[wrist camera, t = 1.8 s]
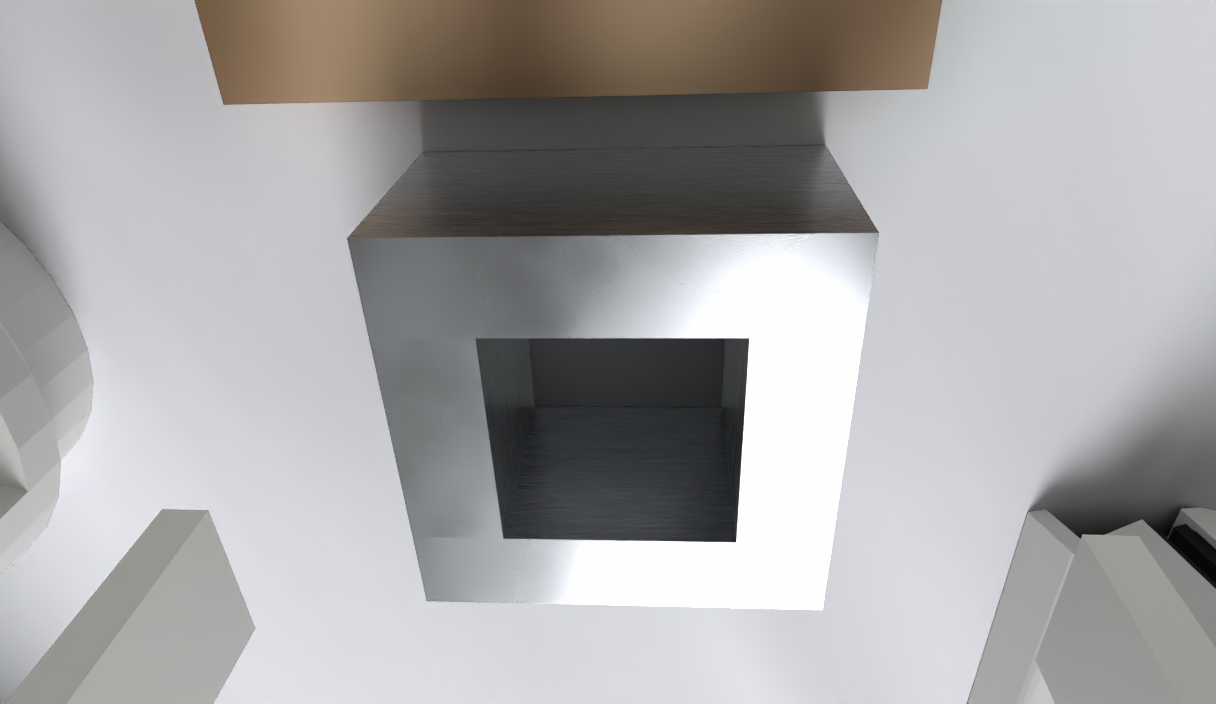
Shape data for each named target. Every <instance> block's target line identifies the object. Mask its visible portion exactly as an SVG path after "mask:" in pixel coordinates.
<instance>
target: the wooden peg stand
mask: <svg viewBox="0 0 1216 704" xmlns="http://www.w3.org/2000/svg"><path fill="white" fill-rule="evenodd" d="M195 4H196V7H197V11H198V15H199V18H200V22H201V25H202V29H203V32H204V36H205V40H206V43H207V47H208V50H209V54H210V58H211V61H212V65H213V68H214V72H215V75H216V79H217V83H218V86H219V90H220V93H221V97H222V100H223V104H224V105H231V104H276V103H321V102H366V101H411V100H456V99H501V98H546V97H591V96H635V95H680V94H725V93H770V92H815V91H860V90H905V89H927V88H928V82H929V76H930V70H931V64H932V58H933V52H934V46H935V40H936V34H937V28H938V22H939V16H940V10H941V4H942V0H195Z"/></svg>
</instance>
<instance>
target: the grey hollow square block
mask: <svg viewBox="0 0 1216 704" xmlns="http://www.w3.org/2000/svg"><path fill="white" fill-rule="evenodd" d="M878 236H879V232H878V231H877V229H876V227H875V226H874V224H873V222H872V221H871V219H870V217H869V216H868V214H867V212H866V211H865V209H864V208H863V206H862V204H861V203H860V201H859V199H858V198H857V196H856V194H855V193H854V191H853V189H852V188H851V186H850V184H849V183H848V181H847V180H846V178H845V176H844V175H843V173H842V171H841V170H840V168H839V166H838V165H837V163H836V161H835V160H834V158H833V156H832V155H831V153H830V152H829V150H828V148H827V147H826V145H812V146H755V147H698V148H641V149H584V150H527V151H470V152H423V153H422V154H421V155H420V156H419V157H418V158H417V159H416V160H415V162H414V163H413V164H412V165H411V166H410V167H409V168H408V170H407V171H406V172H405V173H404V174H403V175H402V176H401V178H400V179H399V180H398V181H397V182H396V183H395V184H394V186H393V187H392V188H391V189H390V190H389V191H388V192H387V193H386V195H385V196H384V197H383V198H382V199H381V200H380V201H379V203H378V204H377V205H376V206H375V207H374V208H373V209H372V211H371V212H370V213H369V214H368V215H367V216H366V217H365V218H364V220H363V221H362V222H361V223H360V224H359V225H358V226H357V228H356V229H355V230H354V231H353V232H352V233H351V234H350V236H349V237H348V238H347V240H348V244H349V249H350V253H351V258H352V262H353V267H354V272H355V276H356V281H357V285H358V290H359V294H360V299H361V303H362V308H363V313H364V317H365V322H366V326H367V331H368V335H369V340H370V344H371V349H372V354H373V358H374V363H375V367H376V372H377V376H378V381H379V385H380V390H381V395H382V399H383V404H384V408H385V413H386V417H387V422H388V426H389V431H390V436H391V440H392V445H393V449H394V454H395V458H396V463H397V468H398V472H399V477H400V481H401V486H402V490H403V495H404V499H405V504H406V509H407V513H408V518H409V522H410V527H411V531H412V536H413V540H414V545H415V550H416V554H417V559H418V563H419V568H420V572H421V577H422V581H423V586H424V591H425V595H426V600H427V601H449V602H492V603H536V604H580V605H624V606H668V607H711V608H755V609H799V610H823V603H824V597H825V590H826V583H827V577H828V570H829V563H830V557H831V550H832V543H833V536H834V530H835V523H836V516H837V510H838V503H839V496H840V490H841V483H842V476H843V470H844V463H845V456H846V450H847V443H848V436H849V430H850V423H851V416H852V410H853V403H854V396H855V390H856V383H857V376H858V369H859V363H860V356H861V349H862V343H863V336H864V329H865V323H866V316H867V309H868V303H869V296H870V289H871V283H872V276H873V269H874V263H875V256H876V249H877V243H878ZM529 338H725V344H724V365H723V387H722V407H535V398H534V388H533V378H532V368H531V358H530V348H529Z"/></svg>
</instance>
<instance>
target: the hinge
mask: <svg viewBox="0 0 1216 704" xmlns="http://www.w3.org/2000/svg"><path fill="white" fill-rule="evenodd" d="M1105 535H1121V536H1139V537H1140V539H1141V540H1142V542H1143V543H1144V545H1145V546H1146V547H1147V549H1148V550H1149V552H1150V553H1151V555H1152V556H1153V558H1154V559H1155V560H1156V562H1157V563H1158V565H1159V566H1160V568H1161V569H1162V571H1163V572H1164V574H1165V575H1166V576H1167V578H1168V579H1169V581H1170V582H1171V584H1172V585H1173V587H1174V588H1175V590H1176V591H1177V592H1178V594H1179V595H1180V597H1181V598H1182V600H1183V601H1184V603H1185V604H1186V606H1187V607H1188V608H1189V610H1190V611H1191V613H1192V614H1193V616H1194V617H1195V619H1196V620H1197V622H1198V623H1199V624H1200V626H1201V627H1202V629H1203V630H1204V632H1205V633H1206V635H1207V636H1208V638H1209V639H1210V640H1211V642H1212V643H1213V645H1214V646H1215V648H1216V510H1211V509H1206V508H1201V507H1196V508H1182V509H1181V510H1180V512H1179V514H1178V516H1177V518H1176V521H1175V523H1174V525H1173V527H1172V529H1171V531H1170V533H1169V535H1168V537H1166V536H1165V535H1164V534H1163V533H1162V532H1161V531H1157V532H1155V531H1154V530H1153V529H1152V528H1151V527H1150V526H1149V525H1148V524H1147V523H1146V522H1145V521H1144V520H1139V521H1137V522H1134V523H1132V524H1129V525H1127V526H1124V527H1122V528H1120V529H1117V530H1115V531H1112V532H1110V533H1107V534H1105ZM1079 542H1080V538H1079V537H1077V536H1076V535H1075V534H1074V533H1073V532H1072V531H1071V530H1069V529H1068V528H1067V527H1066V526H1065V525H1064V524H1063V523H1061V522H1060V521H1059V520H1058V519H1057V518H1056V517H1054V516H1053V515H1052V514H1051V513H1050V512H1049V511H1048V510H1038V511H1030V512H1028V513H1027V517H1026V520H1025V523H1024V526H1023V529H1022V532H1021V536H1020V539H1019V542H1018V545H1017V548H1016V551H1015V555H1014V558H1013V561H1012V564H1011V567H1010V570H1009V574H1008V577H1007V580H1006V583H1005V586H1004V589H1003V593H1002V596H1001V599H1000V602H999V605H998V608H997V612H996V615H995V618H994V621H993V624H992V627H991V630H990V634H989V637H988V640H987V643H986V646H985V649H984V653H983V656H982V659H981V662H980V665H979V668H978V672H977V675H976V678H975V681H974V684H973V687H972V691H971V694H970V697H969V700H968V703H967V704H1055V703H1054V700H1053V698H1052V696H1051V694H1050V692H1049V689H1048V687H1047V685H1046V683H1045V680H1044V678H1043V676H1042V674H1041V672H1040V669H1039V667H1038V665H1037V663H1036V660H1035V659H1036V657H1037V654H1038V651H1039V649H1040V646H1041V643H1042V641H1043V638H1044V635H1045V633H1046V630H1047V627H1048V625H1049V622H1050V619H1051V617H1052V614H1053V611H1054V609H1055V606H1056V603H1057V601H1058V598H1059V595H1060V593H1061V590H1062V587H1063V585H1064V582H1065V579H1066V577H1067V574H1068V571H1069V569H1070V566H1071V563H1072V561H1073V558H1074V555H1075V553H1076V550H1077V547H1078V545H1079Z"/></svg>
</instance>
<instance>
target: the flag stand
mask: <svg viewBox="0 0 1216 704" xmlns="http://www.w3.org/2000/svg"><path fill="white" fill-rule="evenodd" d="M93 385H94V381H93V375H92V369H91V363H90V357H89V352H88V348H87V345H86V343H85V340H84V338H83V335H82V333H81V330H80V328H79V325H78V322H77V320H76V317H75V315H74V313H73V311H72V310H71V308H70V306H69V305H68V303H67V302H66V300H65V298H64V297H63V295H62V293H61V292H60V290H59V288H58V287H57V285H56V283H55V282H54V280H53V278H52V277H51V276H50V275H49V273H48V272H47V271H46V270H45V269H44V267H43V266H42V265H41V264H40V263H39V261H38V260H37V259H36V258H35V257H34V255H33V254H32V253H31V252H30V251H29V249H28V248H27V247H26V246H25V244H24V243H23V242H22V241H21V240H20V239H19V238H18V237H17V236H16V235H14V234H13V233H12V232H11V231H10V230H9V229H8V228H7V227H6V226H5V225H4V224H3V223H1V222H0V578H1V577H2V576H3V575H4V574H5V573H6V571H7V570H8V569H9V568H10V567H11V566H12V565H13V564H14V563H15V562H16V561H17V560H18V559H19V558H20V557H21V556H22V555H23V554H24V552H25V551H26V550H27V549H28V548H29V547H30V546H31V545H32V543H33V542H34V541H35V540H36V539H37V538H38V536H39V535H40V534H41V533H42V532H43V530H44V529H45V528H46V527H47V525H48V523H49V520H50V518H51V515H52V513H53V510H54V507H55V505H56V502H57V500H58V497H59V485H60V467H61V459H62V458H63V457H64V456H65V455H66V454H67V453H68V452H69V451H70V449H71V448H72V447H73V446H74V445H75V443H76V442H77V441H78V440H79V438H80V437H81V436H82V434H83V431H84V429H85V426H86V424H87V421H88V418H89V416H90V413H91V410H92V397H93Z"/></svg>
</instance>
